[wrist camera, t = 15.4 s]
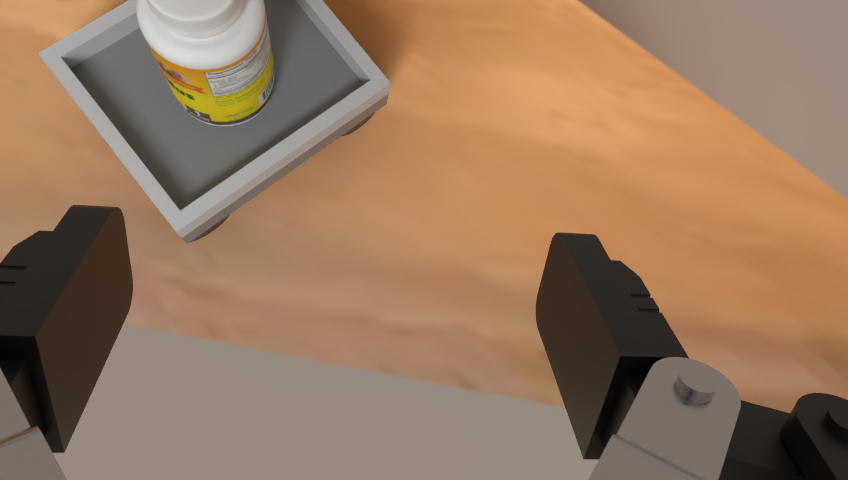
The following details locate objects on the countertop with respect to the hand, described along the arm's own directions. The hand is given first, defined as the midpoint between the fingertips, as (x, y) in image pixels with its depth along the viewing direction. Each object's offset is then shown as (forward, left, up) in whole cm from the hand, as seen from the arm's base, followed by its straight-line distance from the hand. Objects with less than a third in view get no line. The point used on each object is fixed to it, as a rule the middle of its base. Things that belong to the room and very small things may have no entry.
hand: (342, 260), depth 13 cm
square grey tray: (+4, +15, -28) cm, 32 cm away
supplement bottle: (+4, +15, -24) cm, 28 cm away
